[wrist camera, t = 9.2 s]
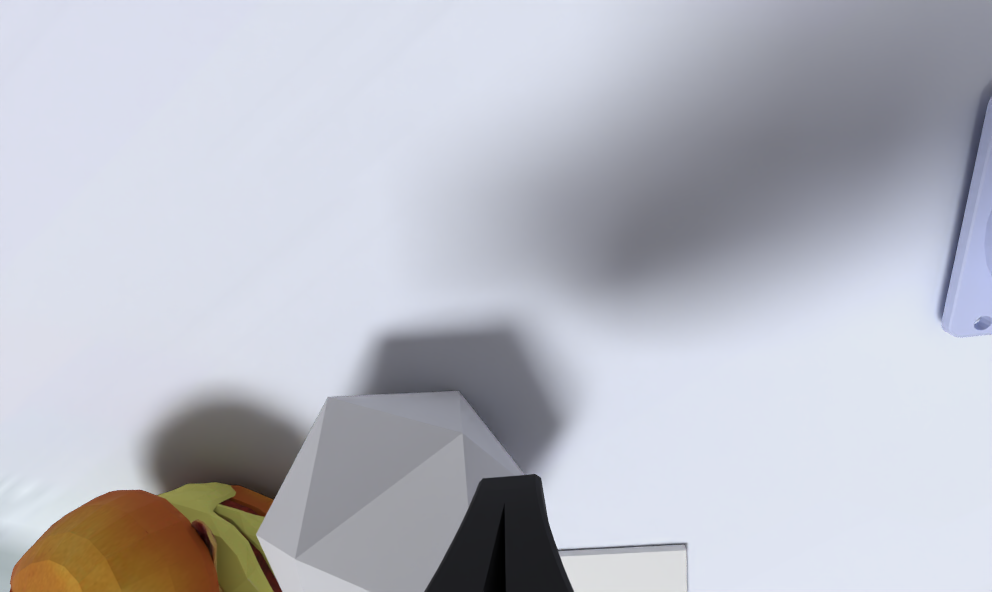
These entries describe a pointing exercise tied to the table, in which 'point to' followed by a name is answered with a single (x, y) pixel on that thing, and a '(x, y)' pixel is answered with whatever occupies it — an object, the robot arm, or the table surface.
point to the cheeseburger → (154, 544)
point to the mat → (627, 569)
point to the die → (379, 492)
